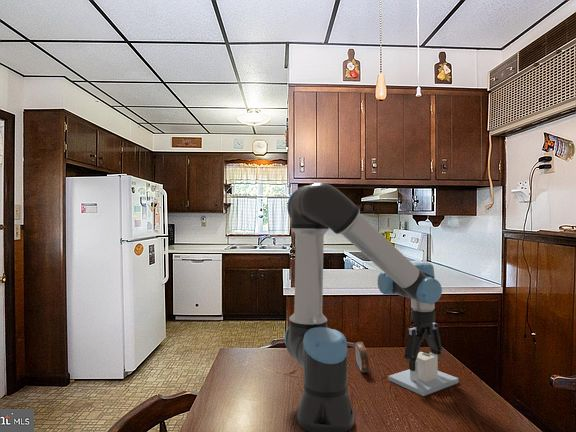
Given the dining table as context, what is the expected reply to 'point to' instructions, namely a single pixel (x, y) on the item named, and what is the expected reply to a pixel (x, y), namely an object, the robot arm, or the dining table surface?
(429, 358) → the cream box with handle
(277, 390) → the dining table surface
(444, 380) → the panel
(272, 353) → the dining table surface
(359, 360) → the tin
